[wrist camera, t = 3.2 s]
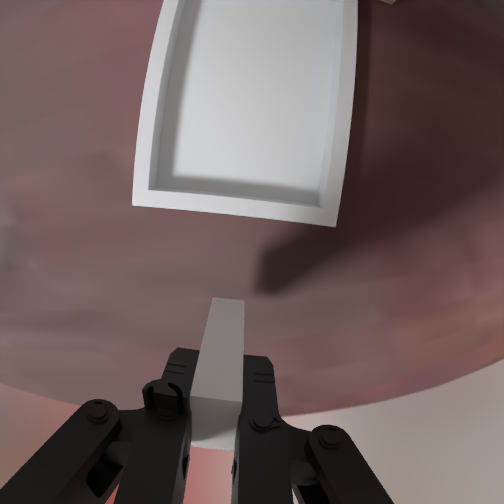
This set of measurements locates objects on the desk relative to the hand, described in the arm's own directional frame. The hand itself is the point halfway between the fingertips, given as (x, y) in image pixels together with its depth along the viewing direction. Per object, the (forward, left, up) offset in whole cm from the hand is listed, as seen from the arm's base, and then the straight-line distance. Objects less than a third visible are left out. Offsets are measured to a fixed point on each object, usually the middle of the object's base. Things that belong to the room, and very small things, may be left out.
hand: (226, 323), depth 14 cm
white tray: (0, +12, -4) cm, 13 cm away
